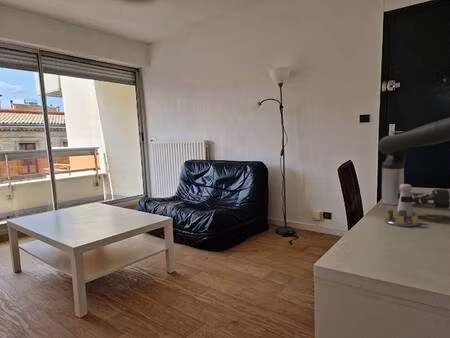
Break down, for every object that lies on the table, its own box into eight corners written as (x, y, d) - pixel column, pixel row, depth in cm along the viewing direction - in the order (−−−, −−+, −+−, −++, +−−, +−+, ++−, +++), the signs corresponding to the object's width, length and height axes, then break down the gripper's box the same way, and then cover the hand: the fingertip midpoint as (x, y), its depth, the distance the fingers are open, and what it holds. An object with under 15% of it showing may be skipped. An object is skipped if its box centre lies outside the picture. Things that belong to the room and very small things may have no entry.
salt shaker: (415, 215, 122) (415, 184, 121) (412, 218, 118) (412, 185, 117) (399, 213, 126) (399, 183, 125) (395, 216, 122) (395, 184, 121)
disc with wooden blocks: (387, 218, 120) (387, 208, 120) (419, 221, 113) (419, 211, 113) (382, 224, 111) (382, 214, 111) (417, 228, 105) (417, 217, 104)
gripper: (442, 186, 123) (396, 186, 129) (454, 192, 110) (402, 191, 116) (441, 204, 124) (395, 203, 130) (454, 212, 110) (402, 210, 116)
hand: (399, 197), depth 122 cm, fingers open, 7 cm apart
